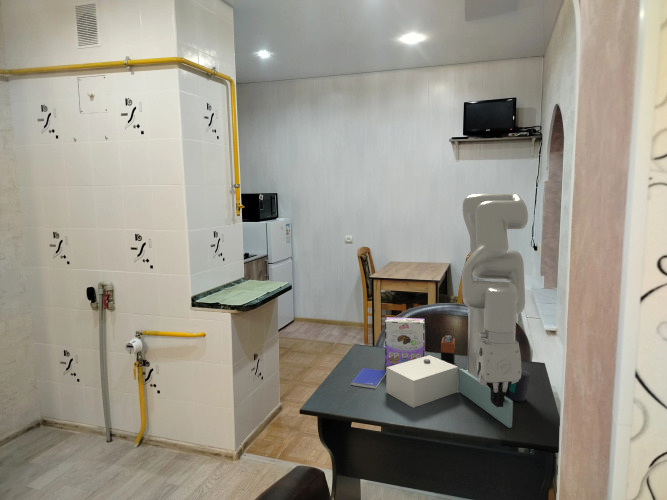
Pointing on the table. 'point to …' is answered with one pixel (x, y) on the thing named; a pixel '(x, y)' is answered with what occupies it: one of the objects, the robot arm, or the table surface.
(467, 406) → the table surface
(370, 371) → the hard drive
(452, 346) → the battery
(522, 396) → the speaker
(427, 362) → the white knobbed box
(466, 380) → the side door
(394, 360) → the candy box
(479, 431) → the table surface
